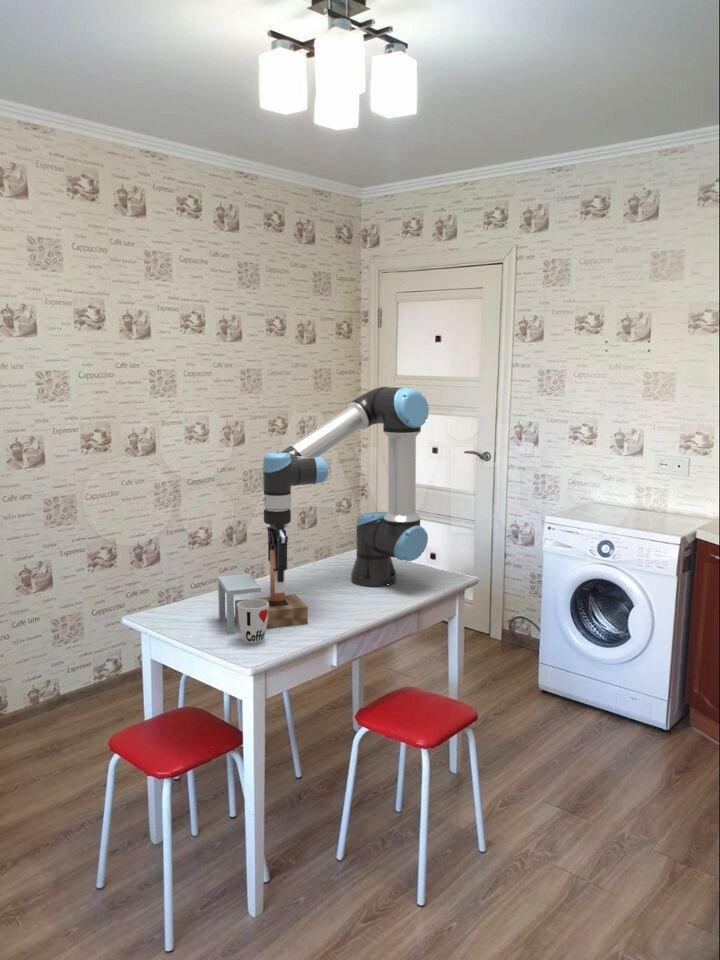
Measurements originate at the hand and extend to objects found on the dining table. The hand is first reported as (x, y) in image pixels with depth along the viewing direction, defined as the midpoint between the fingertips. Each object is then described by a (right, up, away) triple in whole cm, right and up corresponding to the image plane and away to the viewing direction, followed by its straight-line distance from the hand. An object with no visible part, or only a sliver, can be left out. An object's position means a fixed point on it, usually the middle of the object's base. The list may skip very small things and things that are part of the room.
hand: (277, 589), depth 213 cm
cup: (-5, -11, -14) cm, 19 cm away
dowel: (0, -3, 0) cm, 3 cm away
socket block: (-2, -9, +1) cm, 9 cm away
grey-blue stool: (-10, -9, -2) cm, 14 cm away
